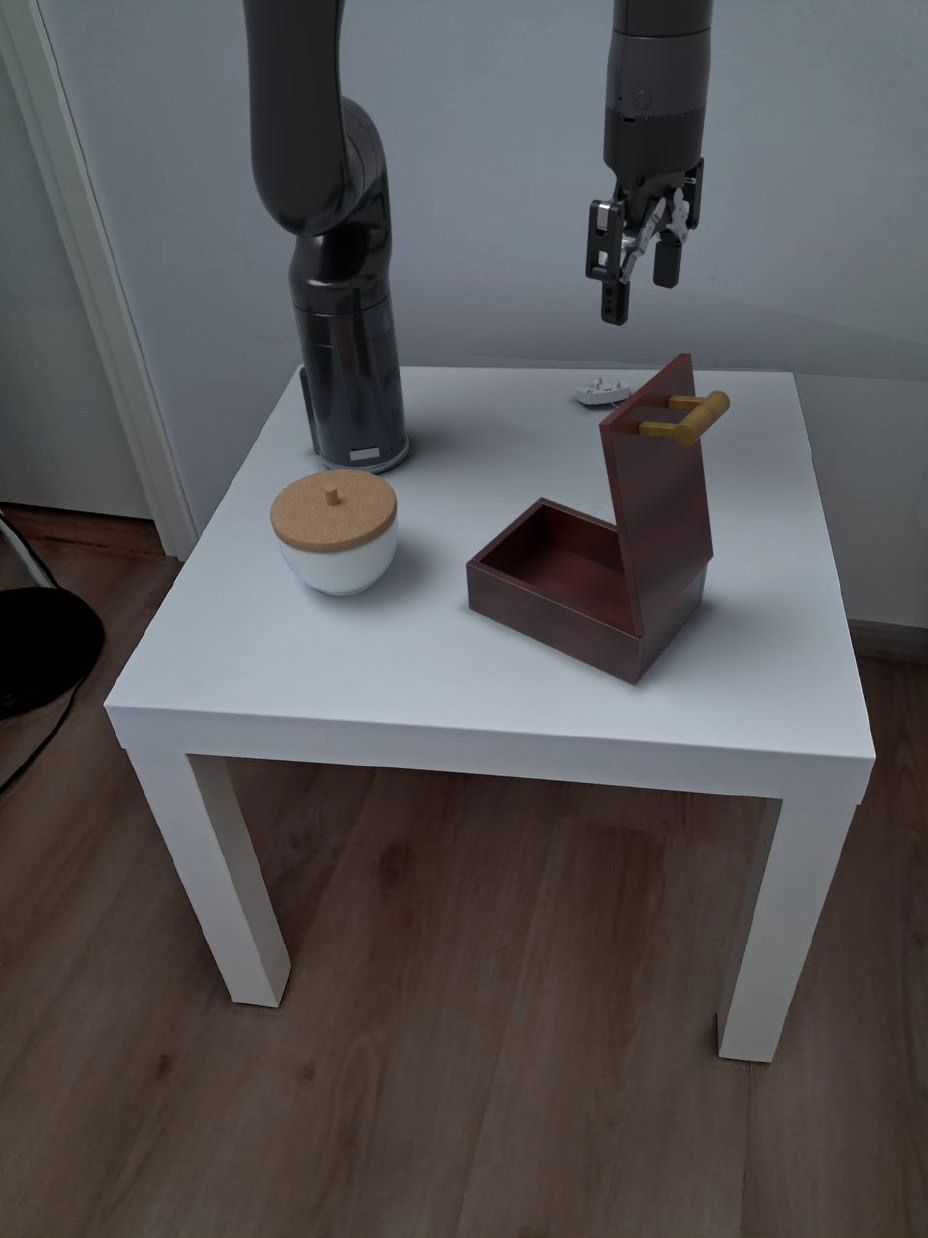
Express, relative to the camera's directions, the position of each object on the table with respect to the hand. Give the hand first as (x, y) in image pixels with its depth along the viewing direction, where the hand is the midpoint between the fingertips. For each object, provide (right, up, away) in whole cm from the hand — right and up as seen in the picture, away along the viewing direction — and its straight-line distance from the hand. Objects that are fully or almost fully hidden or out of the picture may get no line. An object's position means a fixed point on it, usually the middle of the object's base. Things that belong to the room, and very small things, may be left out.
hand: (640, 303), depth 81 cm
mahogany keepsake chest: (-5, -26, -2) cm, 27 cm away
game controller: (+1, -5, +20) cm, 21 cm away
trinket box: (-26, -24, +3) cm, 35 cm away
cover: (-1, -19, -14) cm, 23 cm away
